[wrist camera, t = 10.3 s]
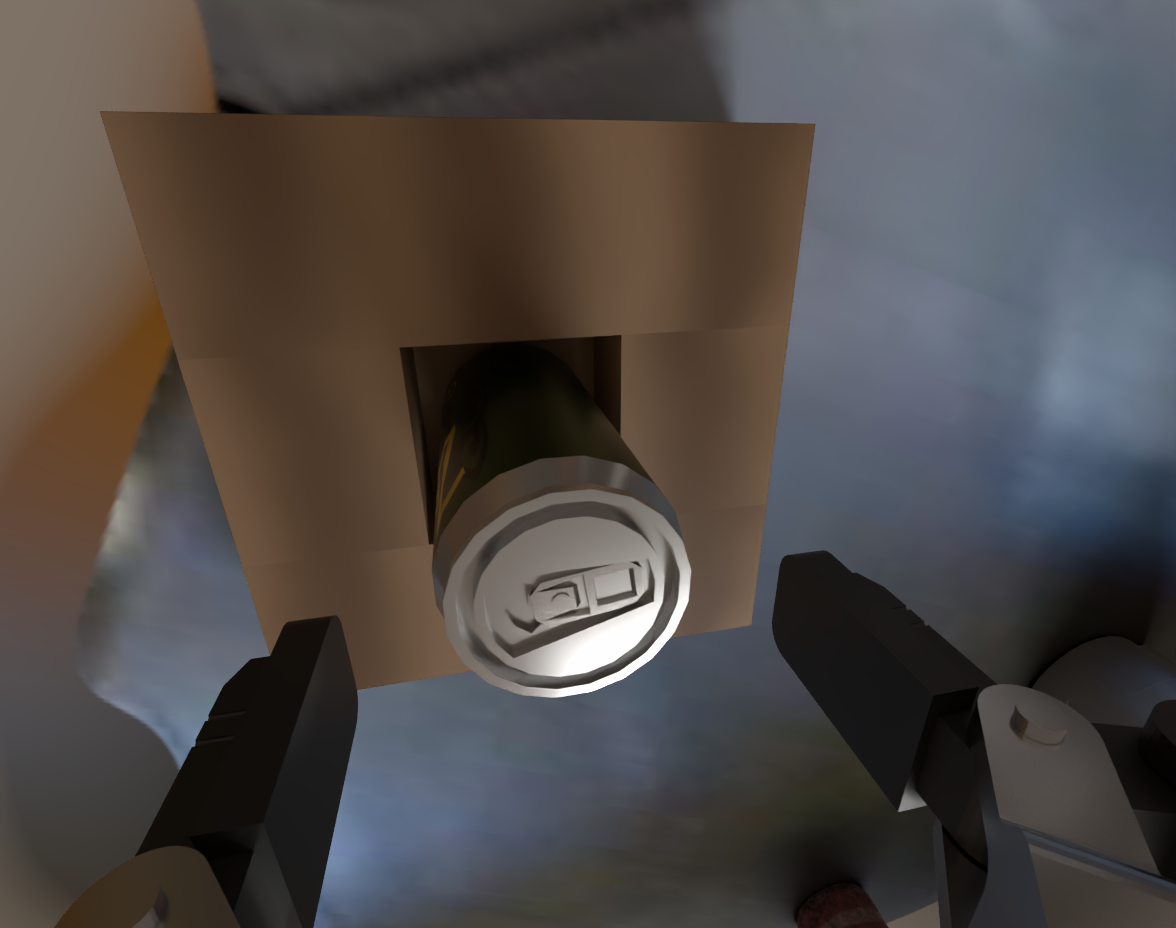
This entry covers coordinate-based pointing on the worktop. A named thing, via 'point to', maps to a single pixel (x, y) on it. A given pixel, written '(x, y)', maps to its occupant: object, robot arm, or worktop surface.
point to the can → (840, 909)
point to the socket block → (462, 330)
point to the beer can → (548, 532)
